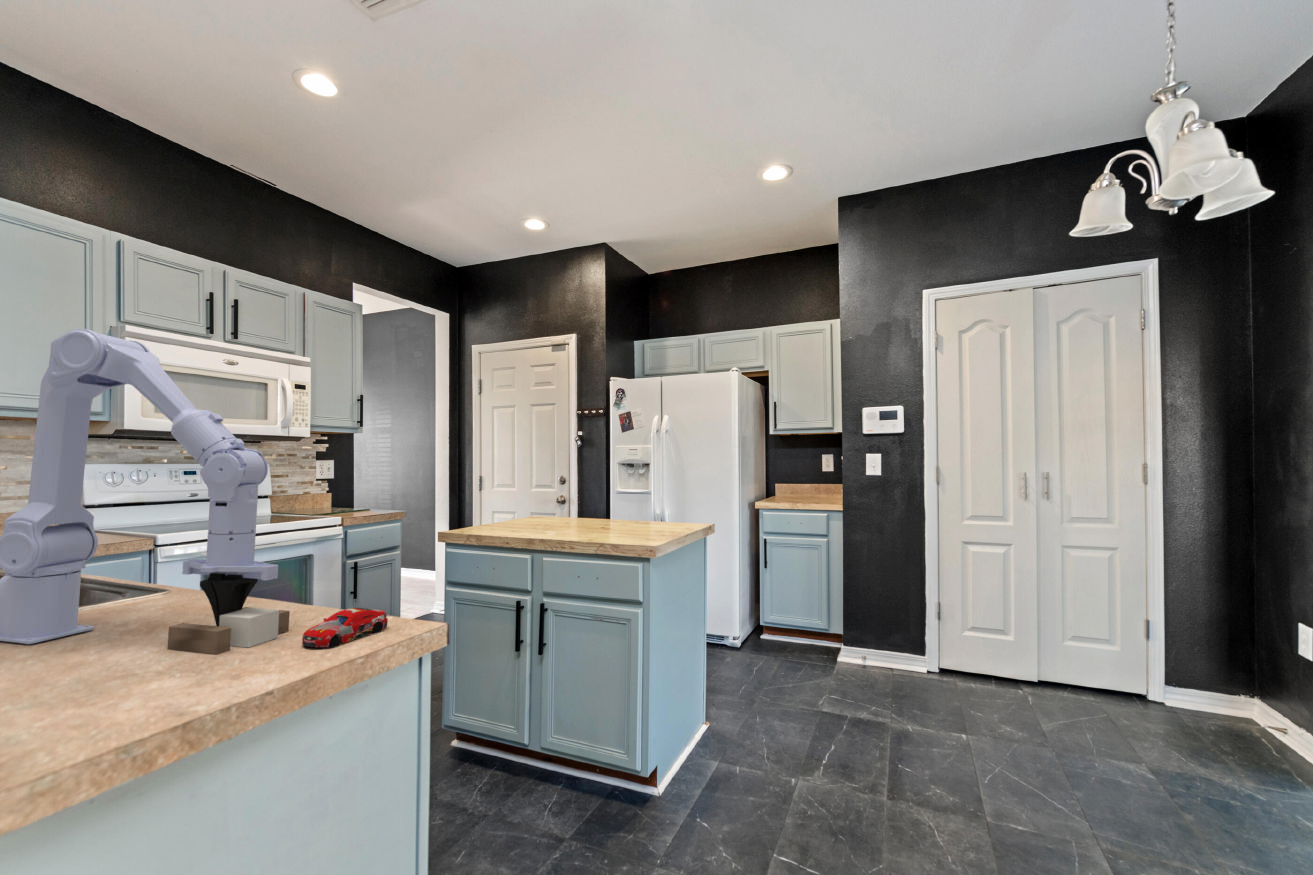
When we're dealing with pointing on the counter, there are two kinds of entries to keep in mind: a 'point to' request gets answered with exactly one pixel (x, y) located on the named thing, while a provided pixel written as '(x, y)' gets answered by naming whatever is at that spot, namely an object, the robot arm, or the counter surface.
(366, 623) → the race car
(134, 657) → the counter surface
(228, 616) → the off-white block
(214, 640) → the parallel wooden rails
